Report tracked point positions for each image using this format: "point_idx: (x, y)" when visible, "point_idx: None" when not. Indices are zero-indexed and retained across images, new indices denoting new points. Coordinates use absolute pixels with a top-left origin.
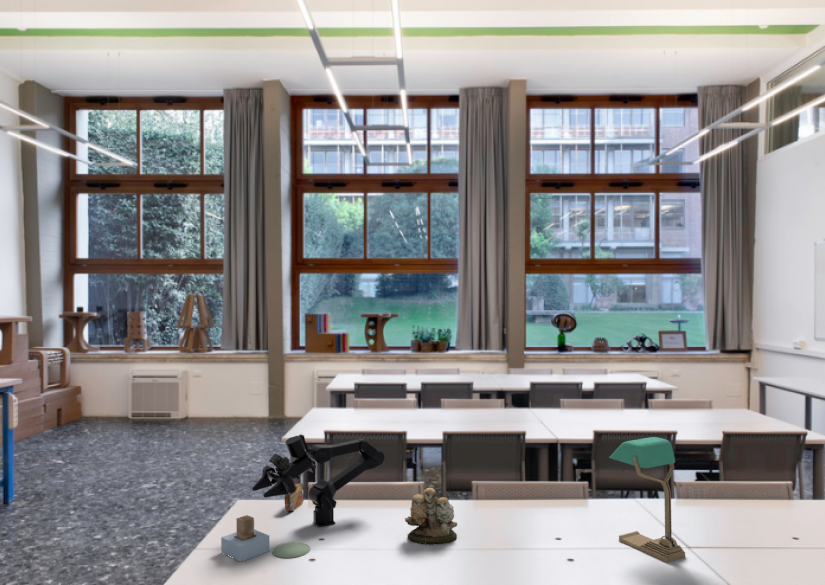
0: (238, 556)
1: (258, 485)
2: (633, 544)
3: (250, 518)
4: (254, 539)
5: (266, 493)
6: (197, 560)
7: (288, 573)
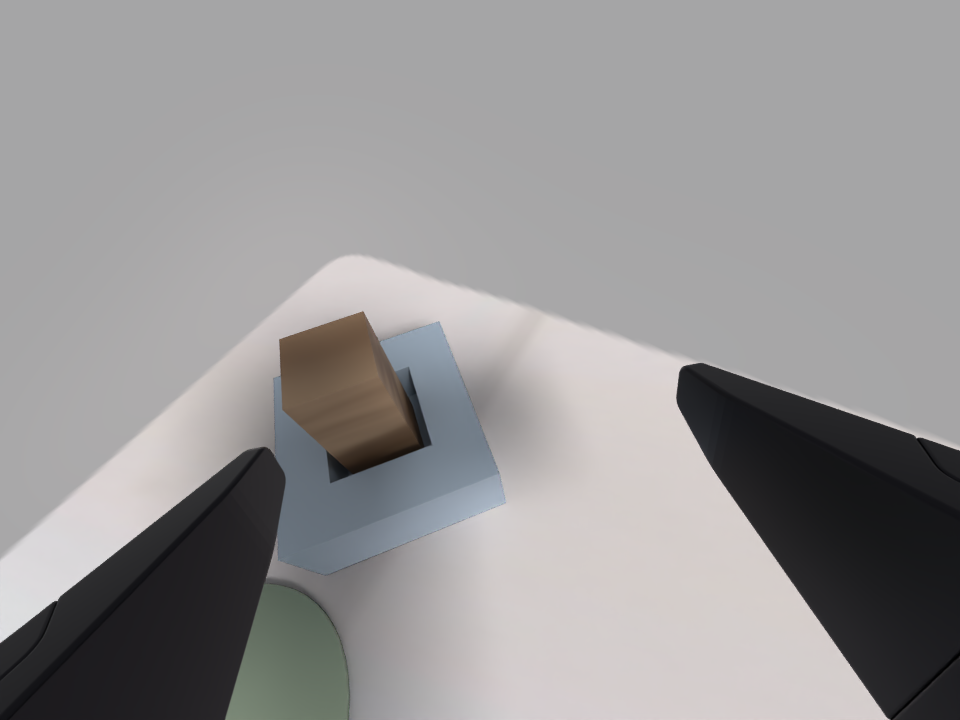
0: None
1: (764, 454)
2: None
3: (290, 385)
4: (294, 455)
5: (207, 486)
6: (432, 294)
7: (24, 586)
